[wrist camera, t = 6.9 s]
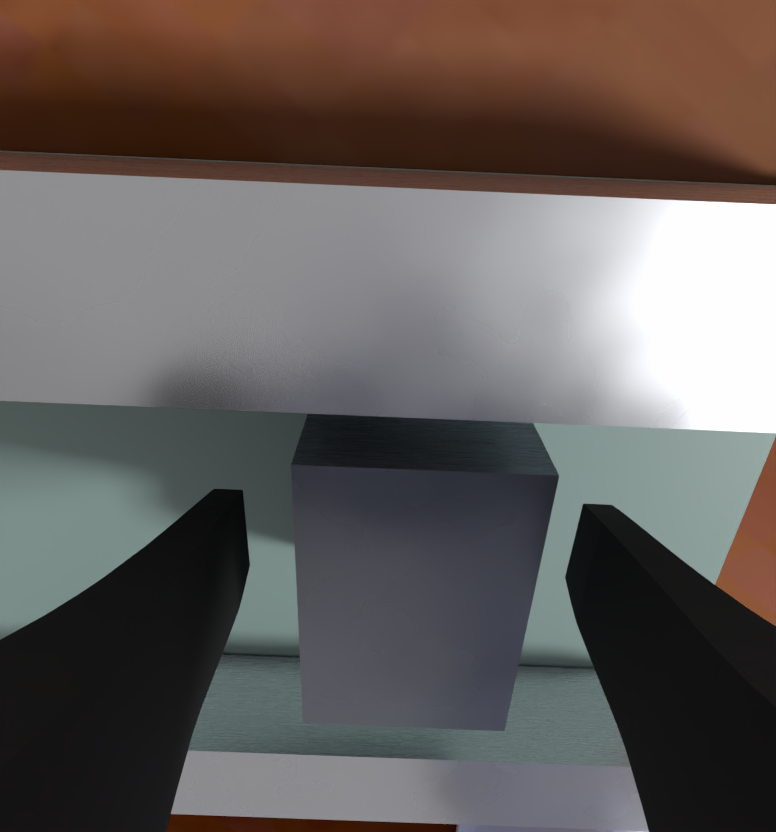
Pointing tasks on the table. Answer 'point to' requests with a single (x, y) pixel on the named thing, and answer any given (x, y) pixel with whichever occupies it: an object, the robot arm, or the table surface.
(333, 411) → the vise base
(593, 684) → the bar
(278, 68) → the table surface
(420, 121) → the table surface
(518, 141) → the table surface
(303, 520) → the steel block
